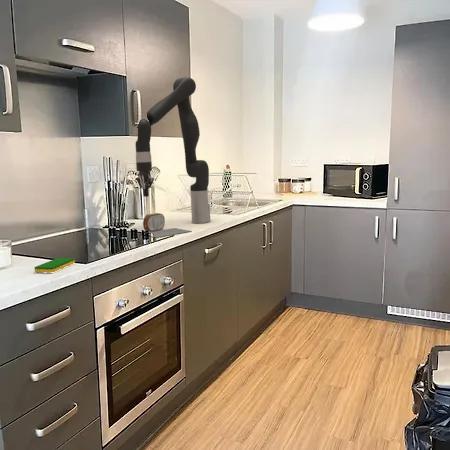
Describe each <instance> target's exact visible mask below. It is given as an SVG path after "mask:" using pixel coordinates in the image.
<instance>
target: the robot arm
mask: <svg viewBox="0 0 450 450" xmlns="http://www.w3.org/2000/svg"><path fill="white" fill-rule="evenodd" d="M196 85H197V84H196V82H195V80H194V79H193V78H191V77H187V76H185V77H181V78H179V77H178V78H176V80H175V81H174V82H173V85H172V90H173V91H172V92H171V93H169V94H168V95H166V96H165V97H164V98H162V99H161V100H159V101H158V102H156V103H155V104H154V105H153V106H152V107H151V108H150V109H148V111H147V112H146V113H147V118H148V120H149V122H148V121H147V120H145V119H142V120H140V122H139V124H138V127H137V128H138V134H137V140H136V141H135V164H136V165H135V166H136V168H135V169H136V171H137V172H138V177H136V178H135V179H136V181H137V183H138V186H139V188H140V189H142V196H143V197H144V198H146V197H147V198H148V197H149V195H150V194H149V189H150V188H152V185H153V183H154V181H155V178H154V177H152V176H151V174H152V173H151V172H152V171H153V163H152V162H153V161H152V154H151V143H150V142H151V138H152V137H151V136H152V126H153V125H155V124H157V123H158V122H160V121H161V120H162V119H163V118H164V117H165V116H166V115H167V114H168V113H169V112H170V111H171V110H173V109H174V108H175V107H176V106H177V110H178V115H179V116H178V117H179V121H180V122H179V123H180V129H181V136H182V139H183V140H182V141H183V148H184V159H185V170H186V174H187V176H189V177H190V178H193V179H194V178H195V181H194V183H193V184H191V185H190V186H189V189H190V207H191V208H190V210H191V223H192V224H206V223H209V222H211V206H210V205H211V204H210V203H209V192H208V186H209V182H210V178H209V177H210V169H209V164H208V163H207V161H206V160H205V159H204V160H203V159H201V160H200V159H198V158H197V153H196V152H197V146H198V142H199V140H200V136H201V135H200V126H199V121H198V119H197V116H196V114H195V112H194V110H193V108H192V106H191V102H190V100H191V99H190V96H191V95H193V94H195V92H196V89H197V86H196Z"/></svg>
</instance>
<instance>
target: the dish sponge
mask: <svg viewBox="0 0 450 450" xmlns="http://www.w3.org/2000/svg"><path fill="white" fill-rule="evenodd" d="M73 263H75V264H76V260H75V258H73V257H56V258H55V259H52V260H51V259H50V260H48V261H47V262H44V263H42V264H39V265H36V266H34V273H35V272H55V271H57V270H59V269H62V268H64V267H66V266H69V265H71V264H73ZM73 265H74V264H73ZM71 266H72V265H71ZM69 267H70V266H69ZM66 268H67V267H66ZM64 269H65V268H64ZM62 270H63V269H62ZM57 272H58V271H57ZM55 273H56V272H55Z"/></svg>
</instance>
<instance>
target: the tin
mask: <svg viewBox="0 0 450 450" xmlns="http://www.w3.org/2000/svg"><path fill="white" fill-rule="evenodd" d="M165 220H166V219H165V216H164V214H163V213H160V212H159V213H157V212H155V213H149V214H146V215H145V216H144V218H143V222H142V226H143V227H142V228H143V230H144V231H146V232H147V231H149V232H154V231H160V230H163V228H165V222H166V221H165Z"/></svg>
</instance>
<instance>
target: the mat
mask: <svg viewBox="0 0 450 450" xmlns="http://www.w3.org/2000/svg"><path fill="white" fill-rule="evenodd" d="M150 233H152V234H154V235H153V237H152V238H154V237H156V238H155V239H160V238H165V237H171V236H175V235H176V236H177V235H181V234H188V233H192V230H189V229H182V228H179V227H178V228H177V227H172V228H166V229H161V230H156V231H152V232H150ZM159 237H160V238H159Z"/></svg>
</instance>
